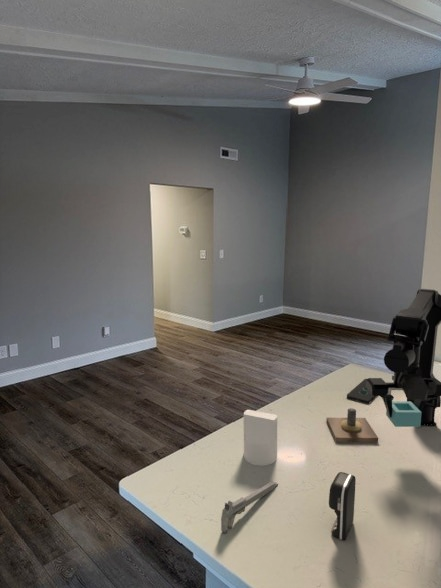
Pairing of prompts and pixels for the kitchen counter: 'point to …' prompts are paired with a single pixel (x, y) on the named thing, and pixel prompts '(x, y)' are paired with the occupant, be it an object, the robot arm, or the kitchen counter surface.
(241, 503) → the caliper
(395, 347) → the robot arm
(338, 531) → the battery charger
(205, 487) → the kitchen counter surface
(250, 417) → the white upright block
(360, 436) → the stand
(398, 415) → the collar
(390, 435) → the kitchen counter surface
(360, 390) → the smart home device
